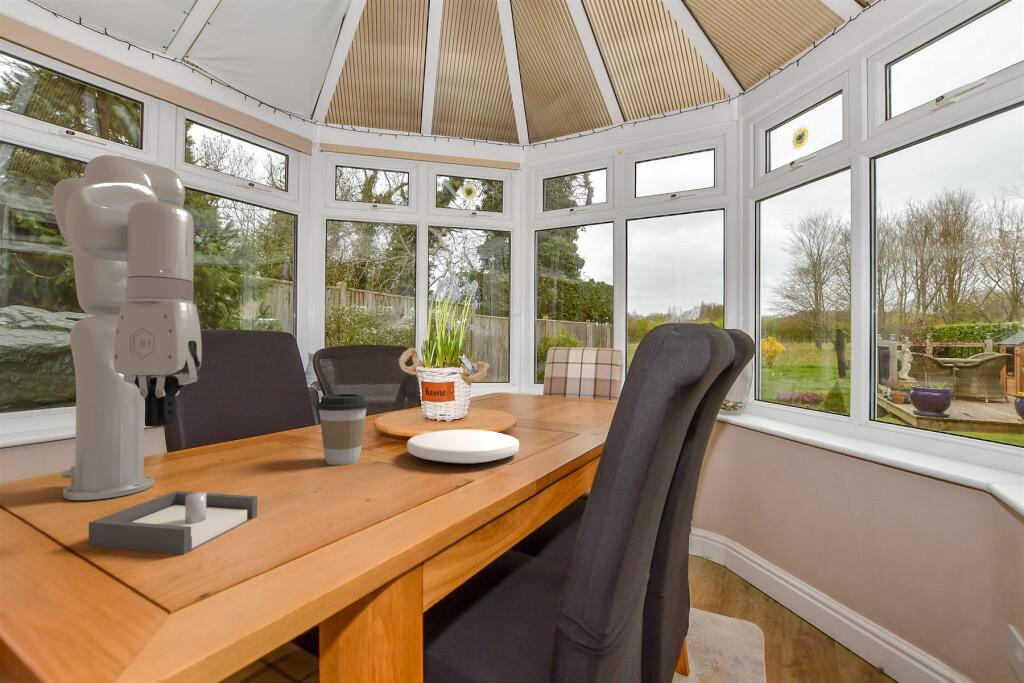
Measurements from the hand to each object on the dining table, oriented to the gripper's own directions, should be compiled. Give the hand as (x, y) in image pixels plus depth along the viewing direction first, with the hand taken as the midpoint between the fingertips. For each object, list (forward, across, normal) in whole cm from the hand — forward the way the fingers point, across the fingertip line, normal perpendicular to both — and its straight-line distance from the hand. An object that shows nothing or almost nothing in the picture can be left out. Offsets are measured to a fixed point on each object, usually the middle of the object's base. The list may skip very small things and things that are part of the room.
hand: (159, 424), depth 67 cm
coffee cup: (+15, +3, +44) cm, 47 cm away
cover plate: (+14, +3, 0) cm, 15 cm away
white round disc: (+16, +29, +54) cm, 64 cm away
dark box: (+15, +3, 0) cm, 16 cm away
